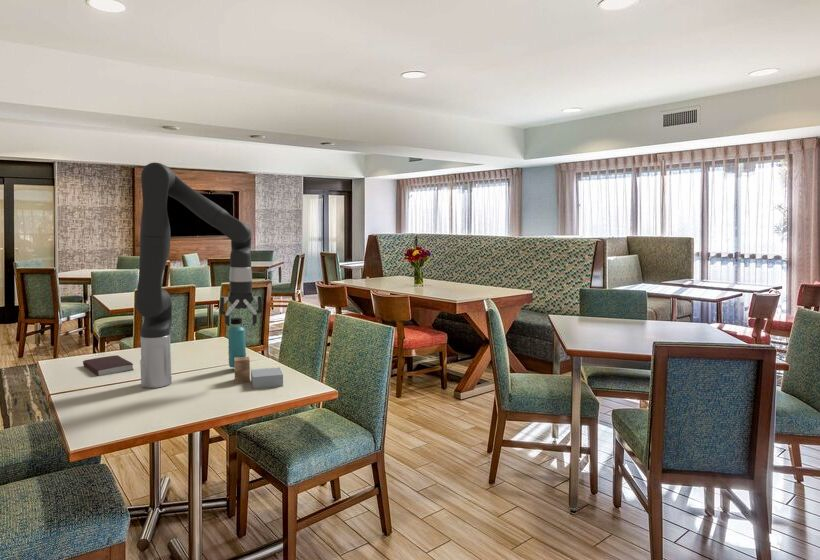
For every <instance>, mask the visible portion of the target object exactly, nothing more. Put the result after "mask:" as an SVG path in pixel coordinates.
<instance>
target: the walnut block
mask: <svg viewBox="0 0 820 560" xmlns="http://www.w3.org/2000/svg"><path fill="white" fill-rule="evenodd" d="M233 369H234V383H235V384H240V383H241V384H242V383H251V363H250V357H249V356H246V357H236V358H234V368H233Z"/></svg>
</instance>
